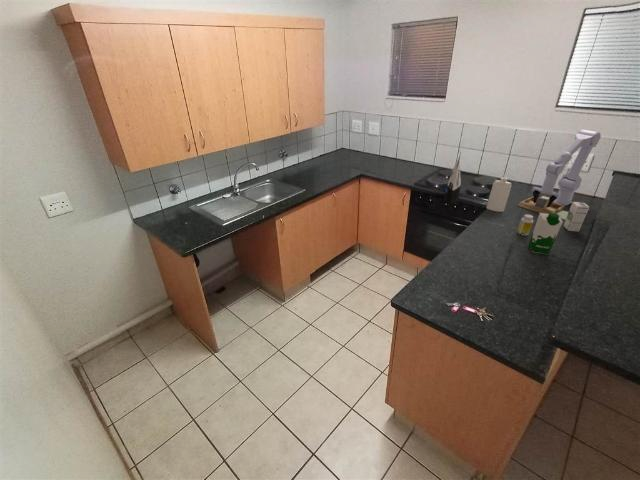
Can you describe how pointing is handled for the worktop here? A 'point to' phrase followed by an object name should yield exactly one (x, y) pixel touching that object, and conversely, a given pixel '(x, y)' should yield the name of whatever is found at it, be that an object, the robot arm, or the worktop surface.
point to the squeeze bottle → (499, 195)
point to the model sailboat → (453, 185)
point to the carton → (531, 206)
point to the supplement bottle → (525, 225)
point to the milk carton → (545, 232)
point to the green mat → (563, 214)
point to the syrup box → (576, 216)
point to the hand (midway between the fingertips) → (541, 204)
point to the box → (542, 202)
